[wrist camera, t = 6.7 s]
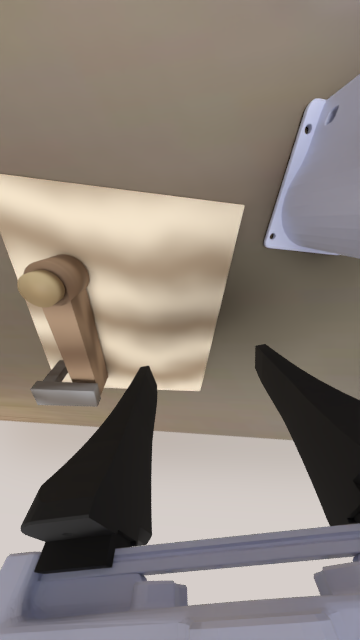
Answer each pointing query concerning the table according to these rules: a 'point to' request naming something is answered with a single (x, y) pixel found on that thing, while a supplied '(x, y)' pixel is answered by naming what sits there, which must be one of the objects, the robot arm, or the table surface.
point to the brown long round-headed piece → (74, 321)
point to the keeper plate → (123, 277)
